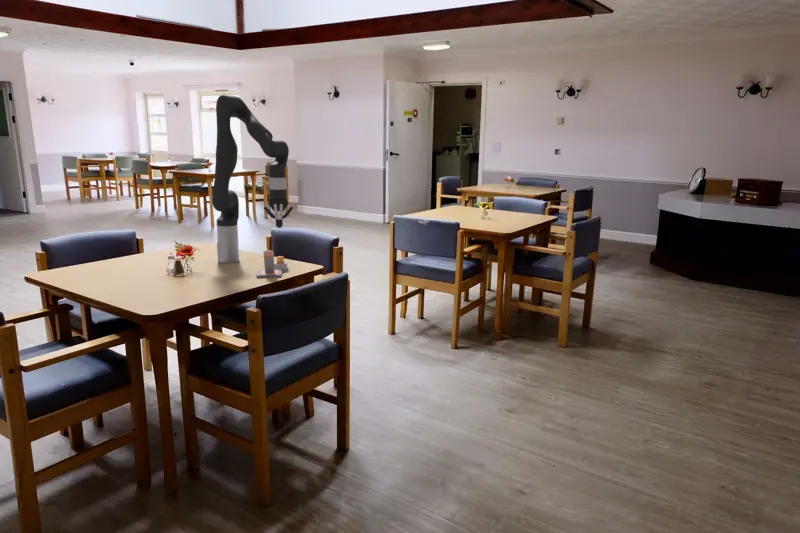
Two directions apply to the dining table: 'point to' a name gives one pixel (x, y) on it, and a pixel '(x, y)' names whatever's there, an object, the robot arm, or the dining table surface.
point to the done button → (280, 259)
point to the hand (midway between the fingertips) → (279, 227)
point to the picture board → (269, 274)
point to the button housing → (280, 266)
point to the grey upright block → (269, 261)
